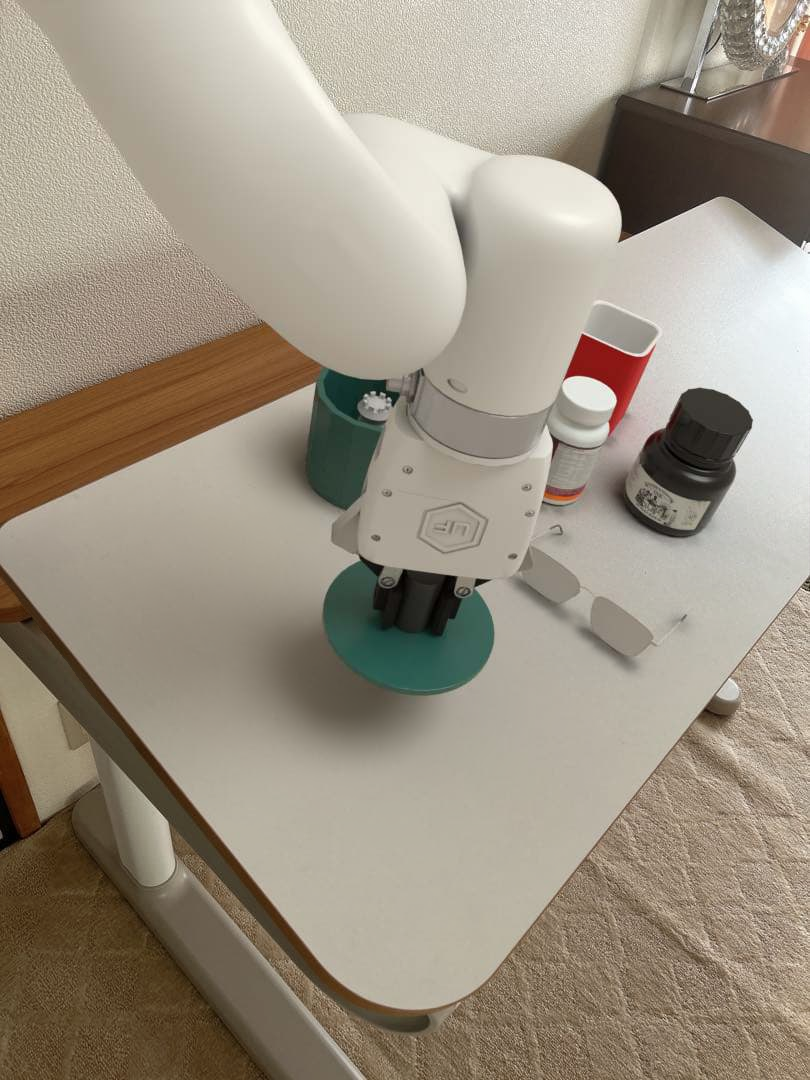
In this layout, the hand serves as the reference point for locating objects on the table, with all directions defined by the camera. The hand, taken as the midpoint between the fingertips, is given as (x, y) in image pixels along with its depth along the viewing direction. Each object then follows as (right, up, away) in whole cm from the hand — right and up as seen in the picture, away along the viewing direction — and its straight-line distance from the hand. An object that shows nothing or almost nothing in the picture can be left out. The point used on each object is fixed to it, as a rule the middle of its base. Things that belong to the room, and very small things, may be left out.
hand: (411, 614), depth 60 cm
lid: (0, -1, +1) cm, 1 cm away
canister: (-4, +11, +22) cm, 26 cm away
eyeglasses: (+16, 0, +17) cm, 24 cm away
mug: (+18, +20, +37) cm, 46 cm away
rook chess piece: (-4, +12, +22) cm, 25 cm away
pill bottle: (+14, +10, +26) cm, 32 cm away
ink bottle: (+25, +8, +27) cm, 38 cm away
